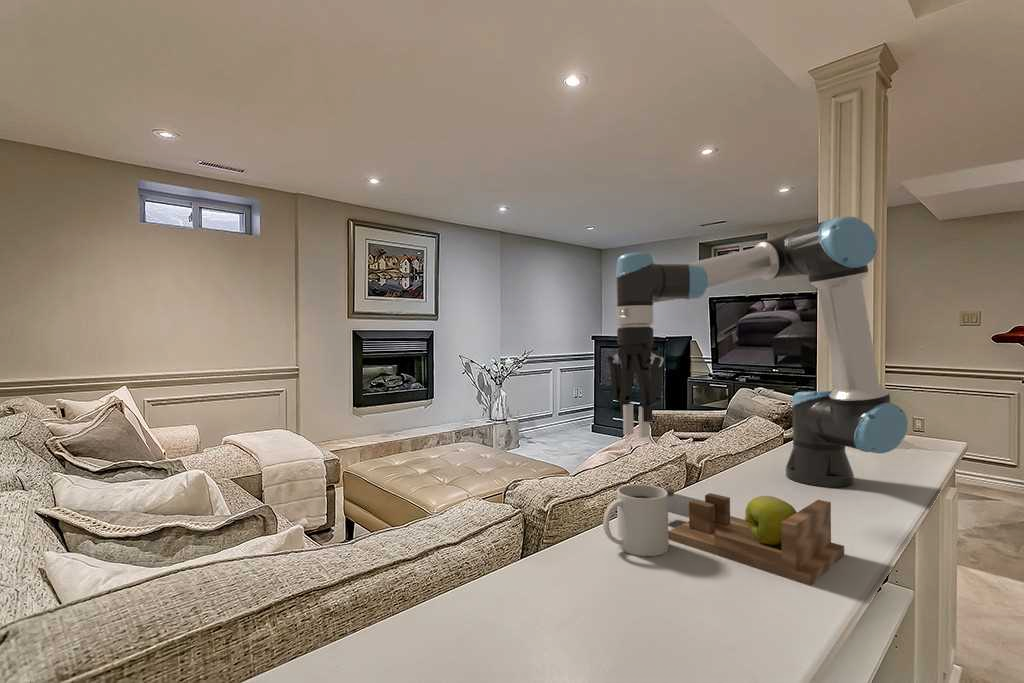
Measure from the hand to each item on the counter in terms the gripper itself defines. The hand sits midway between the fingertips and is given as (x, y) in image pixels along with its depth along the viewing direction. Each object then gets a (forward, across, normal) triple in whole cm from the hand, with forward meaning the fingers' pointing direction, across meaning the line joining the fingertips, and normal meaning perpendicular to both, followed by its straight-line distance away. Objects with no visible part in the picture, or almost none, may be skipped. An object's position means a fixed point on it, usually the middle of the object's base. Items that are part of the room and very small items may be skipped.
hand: (636, 435), depth 109 cm
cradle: (+17, +24, 0) cm, 30 cm away
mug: (+17, +10, -15) cm, 25 cm away
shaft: (+15, +11, 0) cm, 19 cm away
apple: (+15, +28, 0) cm, 31 cm away
